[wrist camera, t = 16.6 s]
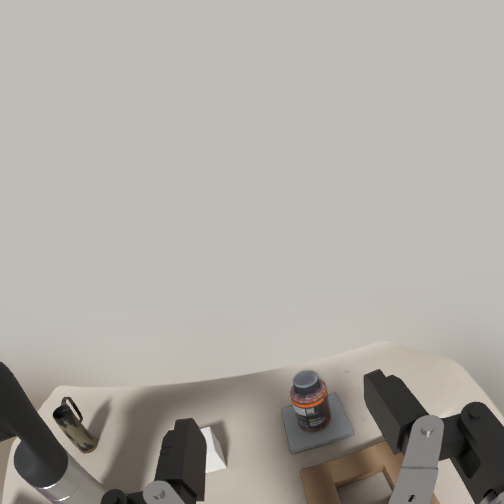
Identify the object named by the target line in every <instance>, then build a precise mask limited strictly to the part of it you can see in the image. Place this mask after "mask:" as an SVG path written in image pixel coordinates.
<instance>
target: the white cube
mask: <svg viewBox="0 0 504 504" xmlns="http://www.w3.org/2000/svg"><path fill="white" fill-rule="evenodd" d="M200 430H201V432H202V433H203V435H204V437H205V439H206V443H207V456H206V473H208V472H212V471H216V470H220V469H224V468H227V466H226V463H225V459H224V456H223V452H222V449H221V445H220V443H219V442H218V440H217V438H216V437H215V435H214V433H213V432H212V430H211V428H210V427H206V428H203V429H200Z"/></svg>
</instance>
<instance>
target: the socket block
mask: <svg viewBox="0 0 504 504" xmlns="http://www.w3.org/2000/svg"><path fill="white" fill-rule="evenodd" d="M403 460H404V456H403V454H402V453H399V454H397V455H394V454H393V452H392V450H391V448H390V447H389V445H388V443H387V441H386V440H385V441H383V442H381V443H378V444H376V445H374V446H371V447H369V448H366V449H364V450H361V451H359V452H356V453H353V454H350V455H348V456H345V457H342V458H339V459H336V460H333V461H330V462H326V463H323V464H320V465H316V466H313V467H309V468H305V469H302V470H300V474H301V478H302V482H303V486H304V490H305V495H306V499H307V503H308V504H341V502H340V499H339V496H338V493H337V490H336V488H339V487H342V486H345V485H348V484H351V483H354V482H357V481H359V480H362V479H365V478H367V477H370V476H372V475H375V474H377V473H379V472H382V471H383V473H384V475H385V477H386V479H387V481H388V484H389V486H390V488H391V490H392V492H393V490H394V487H395V484H396V481H397V479H398V476H399V473H400V469H401V466H402V463H403ZM430 504H440V503H439V501H438V500H437V498H436V496H435V494H434V493H433V495H432V498H431V501H430Z"/></svg>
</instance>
